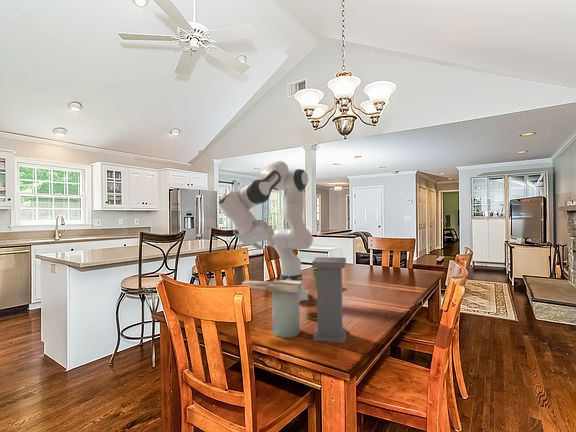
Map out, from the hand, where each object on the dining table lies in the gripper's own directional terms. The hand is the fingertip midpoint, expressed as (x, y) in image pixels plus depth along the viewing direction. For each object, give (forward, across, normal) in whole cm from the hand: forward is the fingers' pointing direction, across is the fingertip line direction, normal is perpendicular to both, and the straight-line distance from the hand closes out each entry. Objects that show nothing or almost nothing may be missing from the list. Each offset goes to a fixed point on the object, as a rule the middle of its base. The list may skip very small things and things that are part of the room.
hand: (266, 247), depth 140 cm
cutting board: (+10, -6, +15) cm, 19 cm away
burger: (+40, -4, +6) cm, 40 cm away
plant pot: (+59, +31, -33) cm, 74 cm away
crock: (+27, -7, +24) cm, 37 cm away
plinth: (+36, -21, +18) cm, 45 cm away
